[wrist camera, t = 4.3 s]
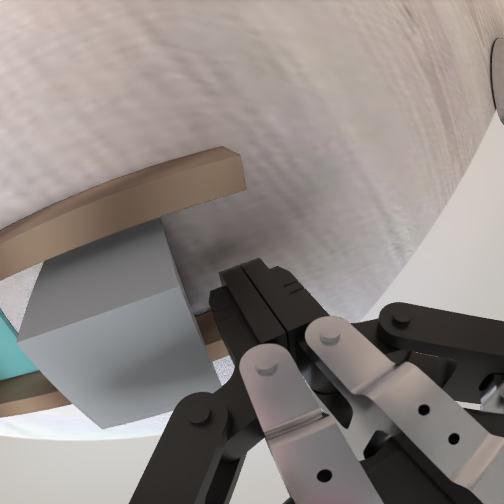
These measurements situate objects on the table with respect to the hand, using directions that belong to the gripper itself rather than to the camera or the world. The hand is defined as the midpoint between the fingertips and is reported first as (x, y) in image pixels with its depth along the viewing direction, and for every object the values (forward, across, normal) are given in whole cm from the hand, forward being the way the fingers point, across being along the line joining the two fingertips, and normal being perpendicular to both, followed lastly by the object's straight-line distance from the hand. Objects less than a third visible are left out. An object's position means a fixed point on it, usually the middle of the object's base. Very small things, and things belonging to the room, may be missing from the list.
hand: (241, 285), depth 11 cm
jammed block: (+3, +4, 0) cm, 5 cm away
